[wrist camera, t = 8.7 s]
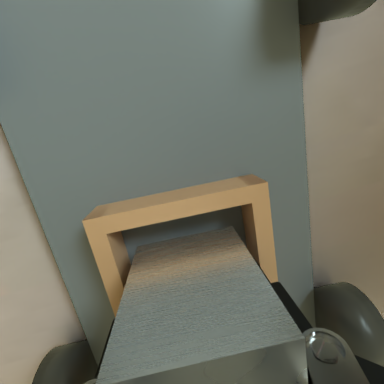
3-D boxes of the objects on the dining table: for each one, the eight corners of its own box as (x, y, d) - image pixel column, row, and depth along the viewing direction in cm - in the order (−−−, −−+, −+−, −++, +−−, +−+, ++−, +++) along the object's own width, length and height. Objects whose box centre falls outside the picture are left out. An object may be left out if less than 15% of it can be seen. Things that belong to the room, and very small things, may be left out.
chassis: (-97, -31, 9) (-322, -168, 5) (323, -101, 10) (438, -275, 6) (85, 388, 16) (53, 483, 11) (334, 329, 16) (392, 399, 12)
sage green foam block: (137, 246, 10) (94, 387, 5) (231, 225, 11) (304, 337, 5) (165, 345, 12) (160, 543, 6) (247, 326, 12) (316, 502, 6)
